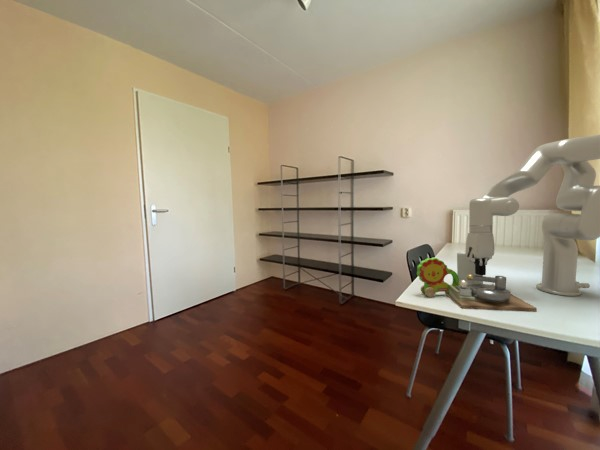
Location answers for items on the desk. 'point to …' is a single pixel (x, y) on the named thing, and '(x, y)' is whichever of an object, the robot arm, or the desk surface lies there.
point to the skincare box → (466, 268)
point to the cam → (490, 288)
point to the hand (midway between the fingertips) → (480, 274)
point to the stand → (488, 302)
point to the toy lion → (435, 276)
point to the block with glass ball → (464, 288)
